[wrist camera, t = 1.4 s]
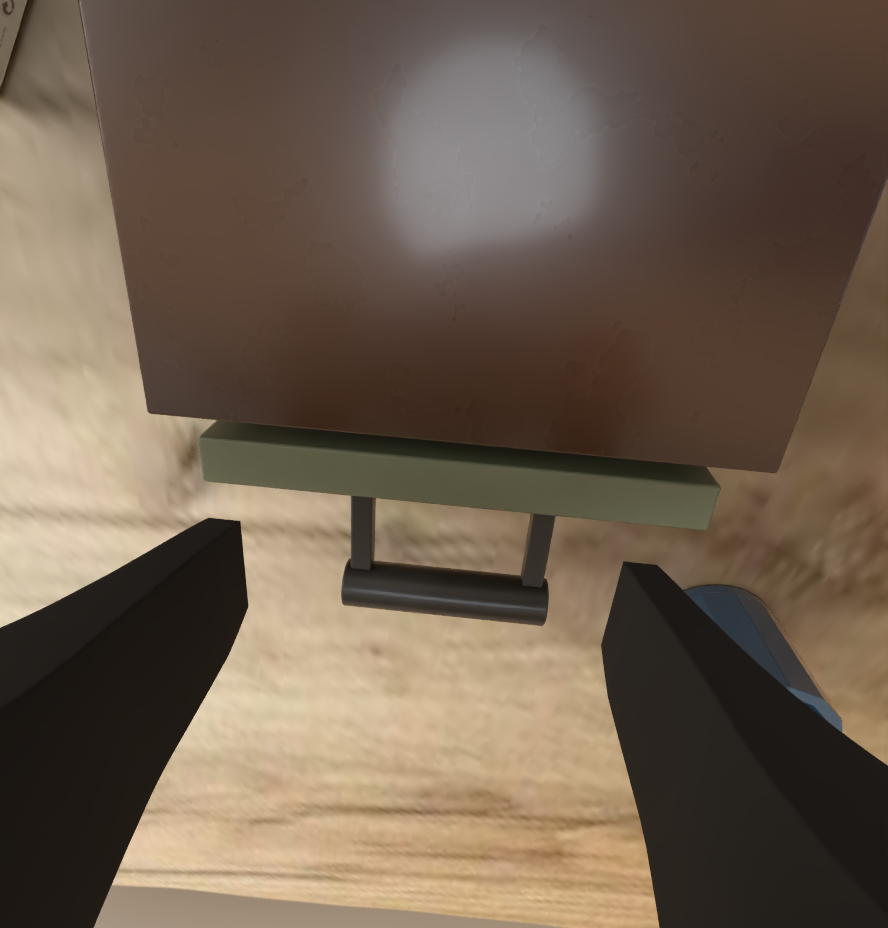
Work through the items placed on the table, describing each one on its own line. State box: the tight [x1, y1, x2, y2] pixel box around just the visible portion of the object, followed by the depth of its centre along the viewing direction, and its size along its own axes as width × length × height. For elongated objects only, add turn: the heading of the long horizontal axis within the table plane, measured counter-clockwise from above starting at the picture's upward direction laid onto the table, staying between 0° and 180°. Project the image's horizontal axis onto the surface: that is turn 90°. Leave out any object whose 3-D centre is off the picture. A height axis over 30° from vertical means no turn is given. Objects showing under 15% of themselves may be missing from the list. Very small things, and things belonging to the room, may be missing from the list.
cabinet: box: [78, 0, 888, 473], centre depth 13 cm, size 13×13×8 cm
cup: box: [684, 585, 842, 732], centre depth 22 cm, size 5×5×5 cm
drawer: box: [198, 420, 721, 626], centre depth 15 cm, size 17×12×7 cm
